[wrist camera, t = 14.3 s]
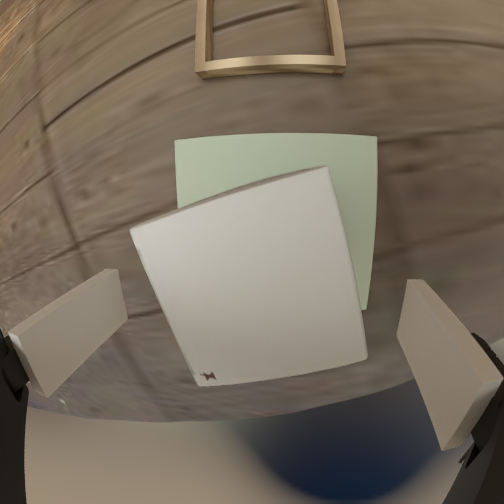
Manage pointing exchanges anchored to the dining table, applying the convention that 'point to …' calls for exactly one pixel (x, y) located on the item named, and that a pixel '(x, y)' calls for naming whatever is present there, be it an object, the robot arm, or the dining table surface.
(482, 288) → the dining table surface
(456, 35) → the dining table surface
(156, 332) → the dining table surface
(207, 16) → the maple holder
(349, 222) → the sage plate
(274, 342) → the supplement box
